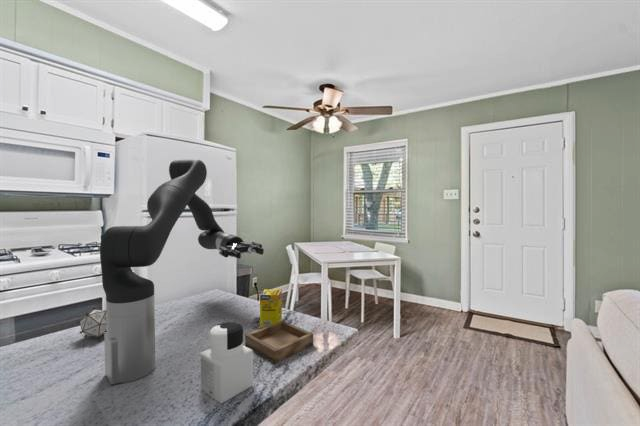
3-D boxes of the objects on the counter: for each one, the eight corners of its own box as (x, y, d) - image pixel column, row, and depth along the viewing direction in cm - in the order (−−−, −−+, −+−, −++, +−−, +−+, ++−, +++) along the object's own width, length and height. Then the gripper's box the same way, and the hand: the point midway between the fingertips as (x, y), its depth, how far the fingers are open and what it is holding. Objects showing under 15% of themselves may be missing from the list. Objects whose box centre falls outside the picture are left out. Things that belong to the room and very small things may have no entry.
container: (232, 372, 67) (232, 315, 66) (253, 385, 62) (253, 324, 61) (200, 388, 61) (199, 326, 60) (221, 405, 56) (220, 337, 55)
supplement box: (279, 330, 89) (279, 294, 88) (259, 330, 89) (259, 294, 89) (282, 322, 95) (282, 289, 94) (263, 322, 95) (263, 289, 94)
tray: (275, 363, 70) (275, 351, 70) (245, 345, 79) (245, 334, 79) (313, 344, 80) (313, 333, 80) (282, 330, 89) (282, 320, 89)
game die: (92, 348, 86) (87, 315, 89) (123, 334, 88) (117, 303, 92) (71, 346, 78) (67, 310, 82) (106, 330, 80) (100, 297, 84)
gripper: (210, 236, 105) (231, 245, 94) (246, 232, 115) (269, 240, 103) (211, 257, 106) (231, 268, 94) (246, 251, 116) (269, 260, 104)
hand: (251, 253), depth 99 cm, fingers open, 8 cm apart
